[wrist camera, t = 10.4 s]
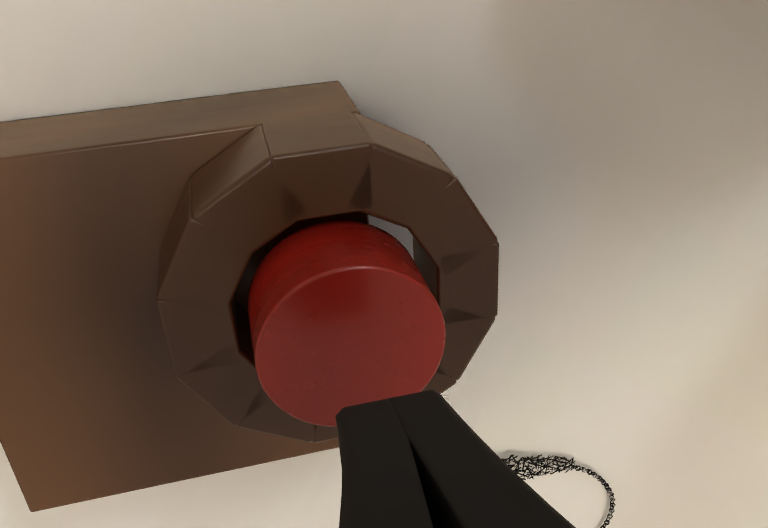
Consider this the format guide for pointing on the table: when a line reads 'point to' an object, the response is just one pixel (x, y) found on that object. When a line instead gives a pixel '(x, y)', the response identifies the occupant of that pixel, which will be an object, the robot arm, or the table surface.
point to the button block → (193, 277)
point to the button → (342, 321)
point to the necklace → (559, 471)
